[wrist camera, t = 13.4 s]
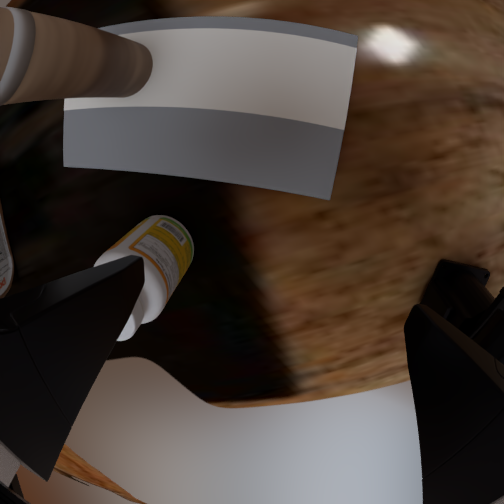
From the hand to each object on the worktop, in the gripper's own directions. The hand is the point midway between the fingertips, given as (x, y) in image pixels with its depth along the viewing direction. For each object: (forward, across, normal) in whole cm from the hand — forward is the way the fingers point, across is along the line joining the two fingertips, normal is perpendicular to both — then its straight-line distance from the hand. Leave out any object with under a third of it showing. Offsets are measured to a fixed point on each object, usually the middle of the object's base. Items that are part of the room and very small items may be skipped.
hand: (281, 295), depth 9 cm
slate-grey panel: (+13, +8, -6) cm, 16 cm away
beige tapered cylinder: (+12, +13, -8) cm, 19 cm away
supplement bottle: (+13, +9, +6) cm, 17 cm away
